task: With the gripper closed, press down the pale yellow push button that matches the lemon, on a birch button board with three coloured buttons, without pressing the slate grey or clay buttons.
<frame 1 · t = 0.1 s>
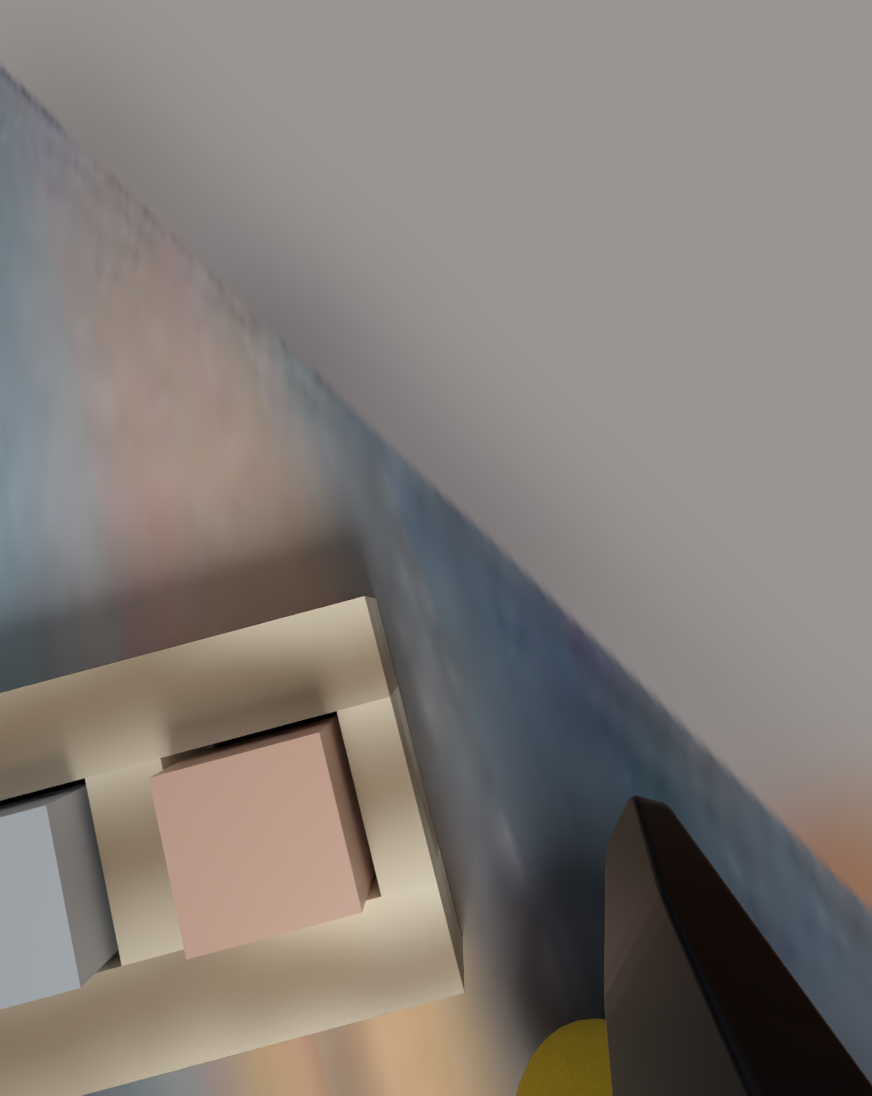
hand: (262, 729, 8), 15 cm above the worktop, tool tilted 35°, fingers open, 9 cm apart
lemon: (583, 1051, 21), on the worktop
grey button: (13, 894, 19), point 3 cm above the worktop, slide at 0.0 cm
clay button: (269, 826, 19), point 3 cm above the worktop, slide at 0.0 cm
button board: (72, 856, 22), on the worktop
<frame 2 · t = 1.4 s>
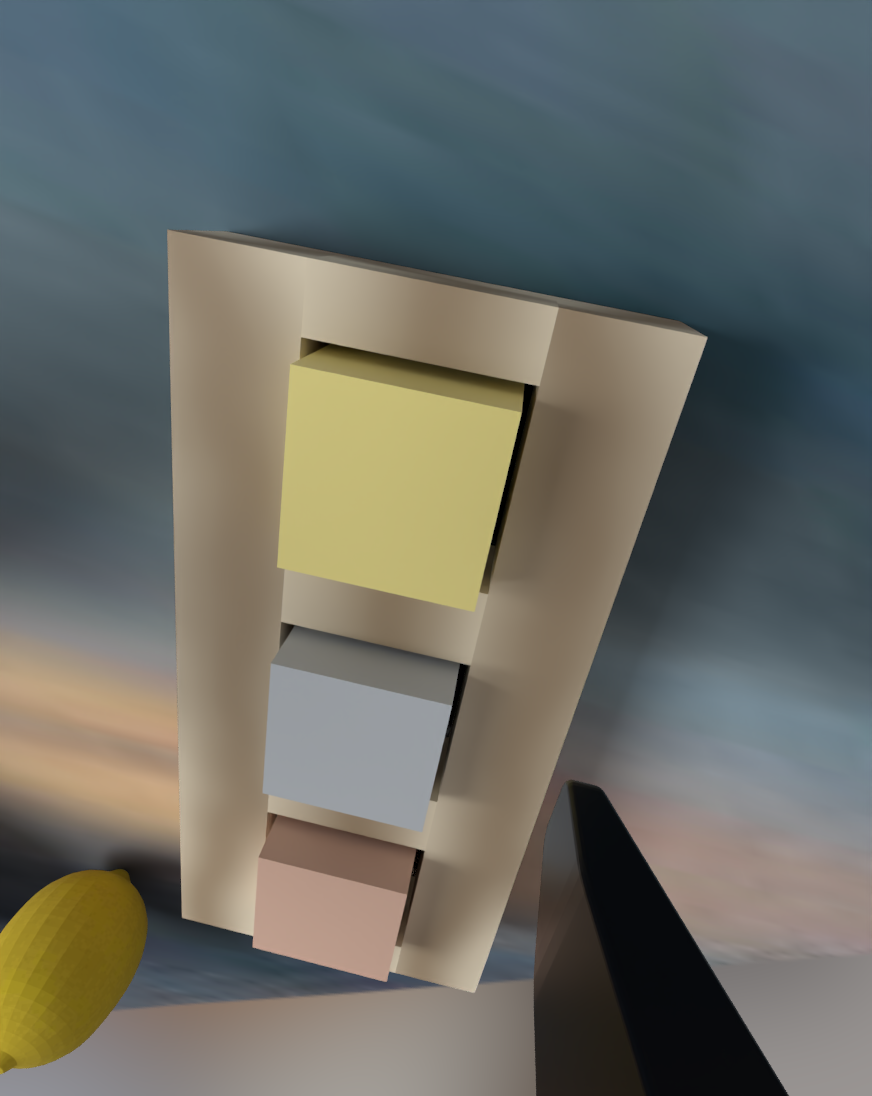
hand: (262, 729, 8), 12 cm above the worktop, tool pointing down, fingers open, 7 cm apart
lemon: (125, 867, 30), on the worktop
yellow button: (401, 475, 16), point 3 cm above the worktop, slide at 0.0 cm
grey button: (363, 717, 19), point 3 cm above the worktop, slide at 0.0 cm
clay button: (337, 882, 23), point 3 cm above the worktop, slide at 0.0 cm
button board: (384, 659, 22), on the worktop
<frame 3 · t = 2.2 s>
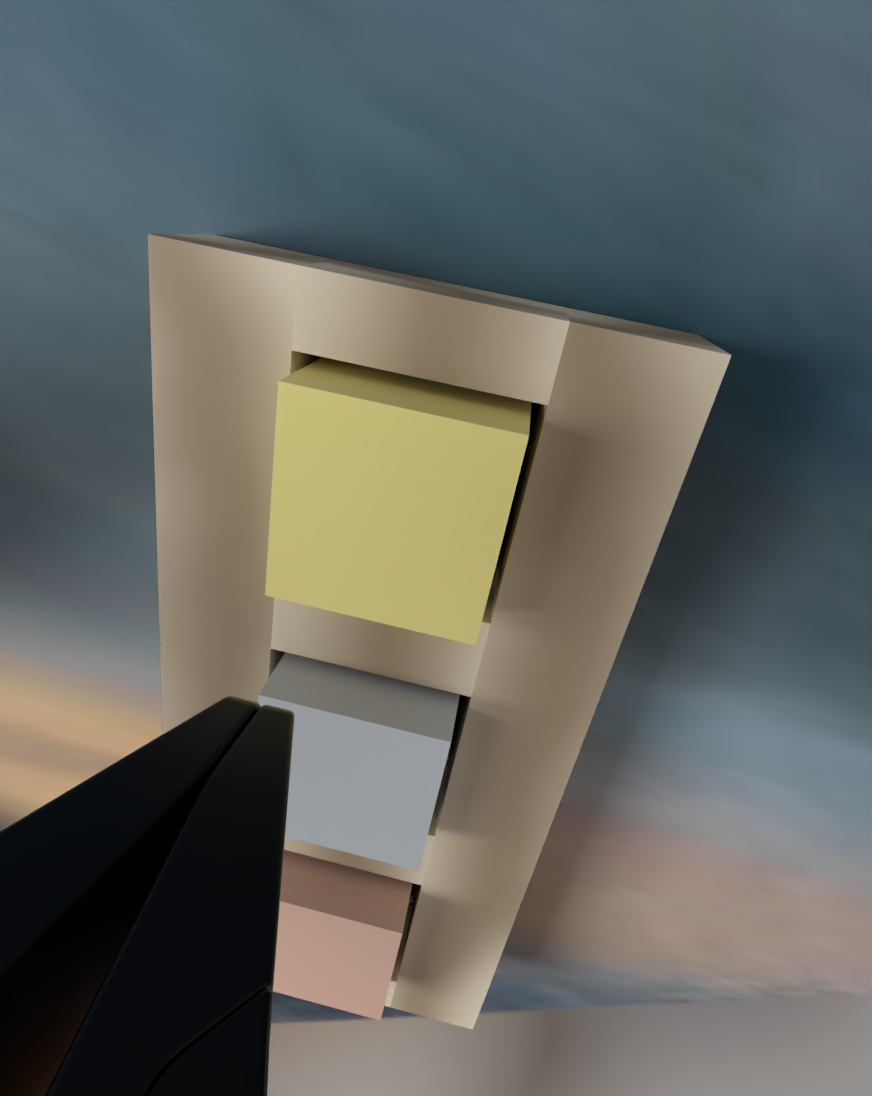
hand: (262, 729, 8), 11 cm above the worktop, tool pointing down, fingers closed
yellow button: (398, 497, 15), point 3 cm above the worktop, slide at 0.0 cm
grey button: (357, 748, 18), point 3 cm above the worktop, slide at 0.0 cm
clay button: (330, 915, 22), point 3 cm above the worktop, slide at 0.0 cm
button board: (381, 683, 21), on the worktop
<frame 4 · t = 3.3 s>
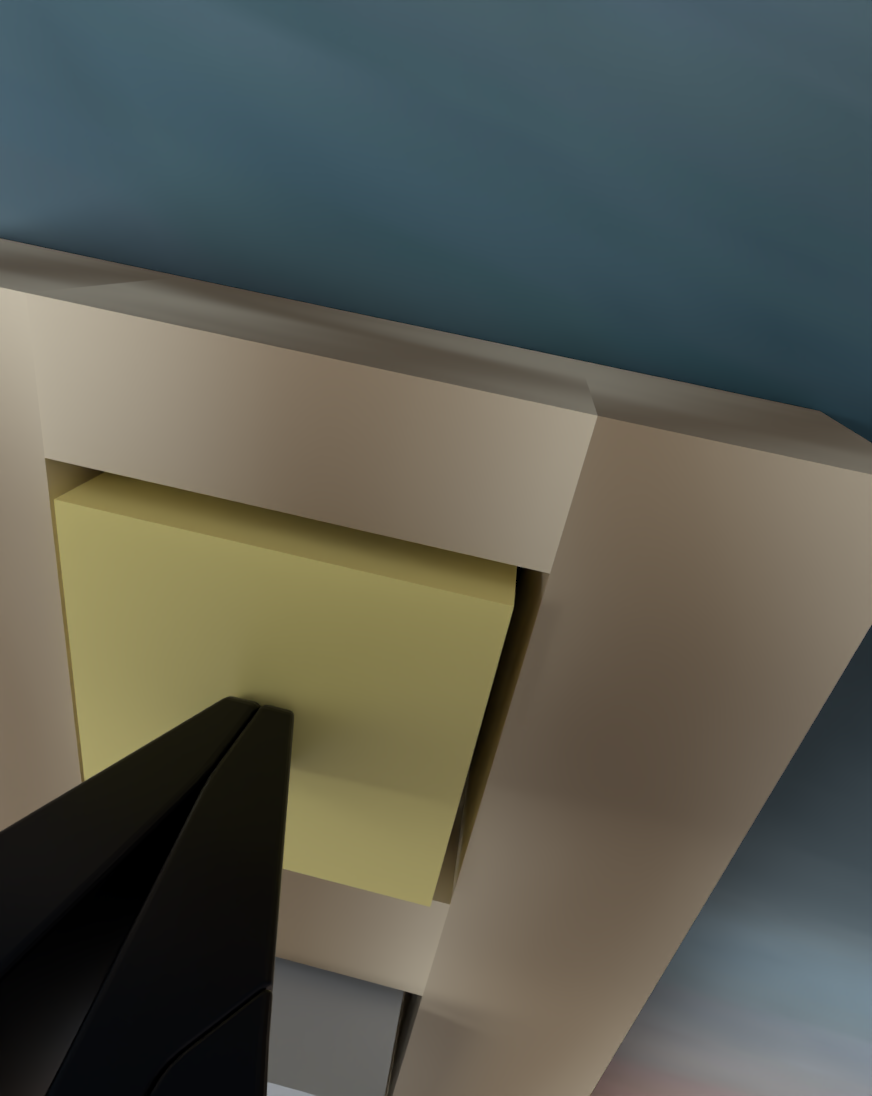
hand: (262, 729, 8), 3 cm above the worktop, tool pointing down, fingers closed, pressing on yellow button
yellow button: (306, 657, 9), point 2 cm above the worktop, slide at 1.2 cm, touching gripper
grey button: (249, 1040, 12), point 3 cm above the worktop, slide at 0.0 cm
button board: (304, 890, 14), on the worktop
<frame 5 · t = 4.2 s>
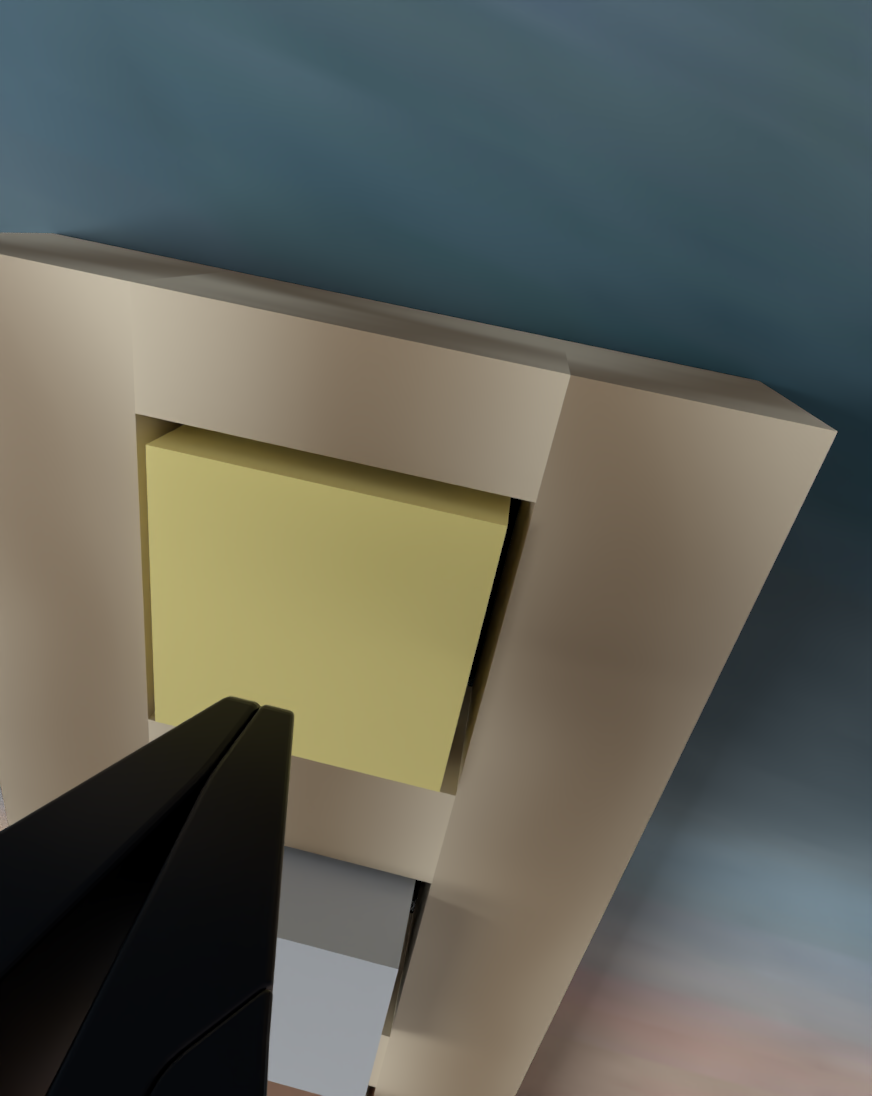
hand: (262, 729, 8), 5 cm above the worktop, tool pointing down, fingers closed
yellow button: (336, 588, 11), point 2 cm above the worktop, slide at 1.2 cm
grey button: (280, 933, 13), point 3 cm above the worktop, slide at 0.0 cm
button board: (323, 818, 16), on the worktop
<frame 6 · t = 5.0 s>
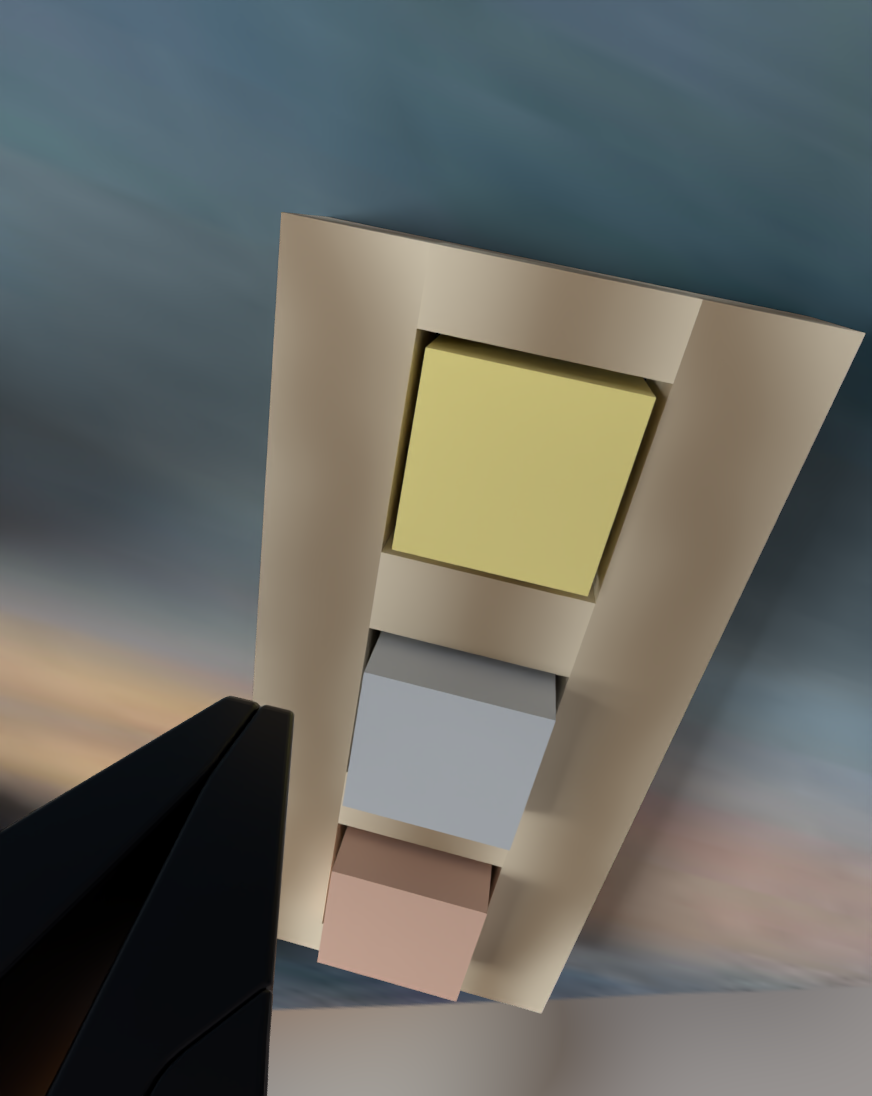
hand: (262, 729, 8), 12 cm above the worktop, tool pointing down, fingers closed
yellow button: (515, 460, 16), point 2 cm above the worktop, slide at 1.2 cm
grey button: (448, 728, 18), point 3 cm above the worktop, slide at 0.0 cm
clay button: (406, 897, 22), point 3 cm above the worktop, slide at 0.0 cm
button board: (461, 667, 21), on the worktop
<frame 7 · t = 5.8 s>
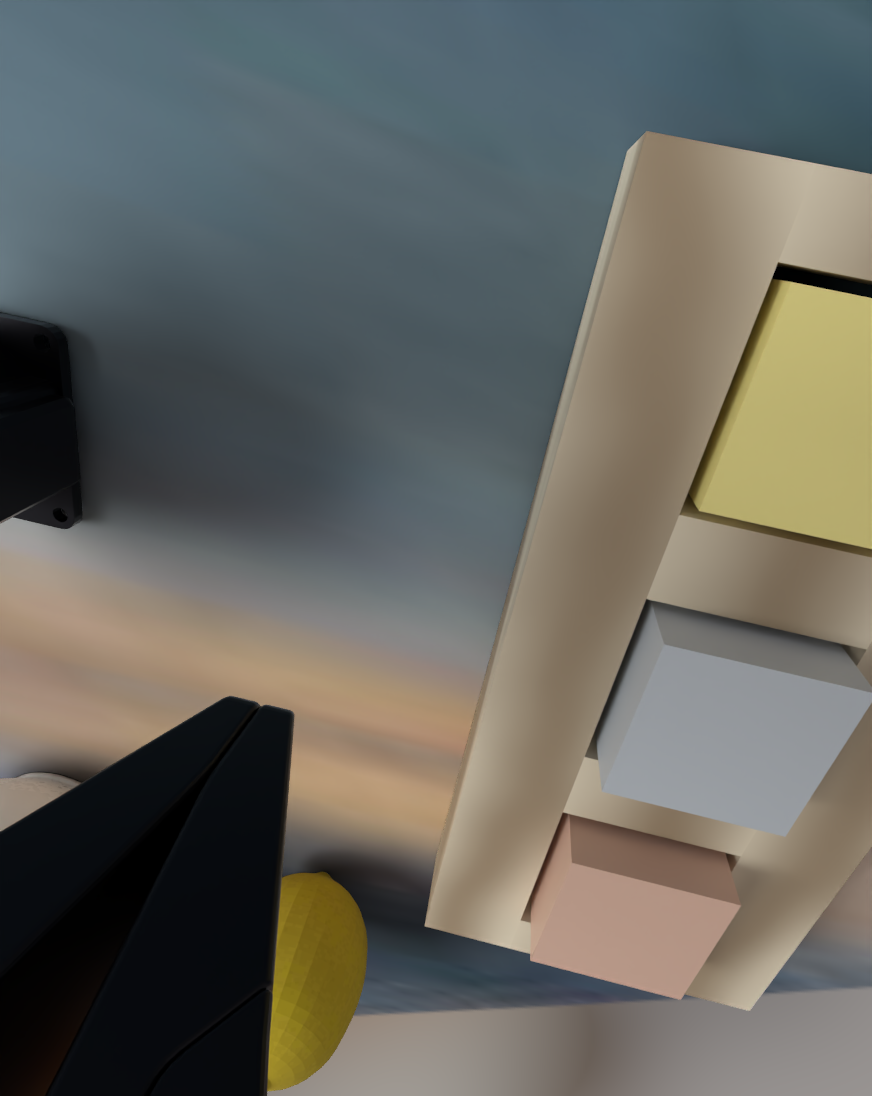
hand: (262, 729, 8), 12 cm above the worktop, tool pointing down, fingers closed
lemon: (325, 870, 28), on the worktop
yellow button: (830, 413, 15), point 2 cm above the worktop, slide at 1.2 cm
grey button: (714, 707, 17), point 3 cm above the worktop, slide at 0.0 cm
lidded jar: (70, 818, 29), on the worktop
clay button: (623, 890, 21), point 3 cm above the worktop, slide at 0.0 cm
button board: (690, 645, 20), on the worktop
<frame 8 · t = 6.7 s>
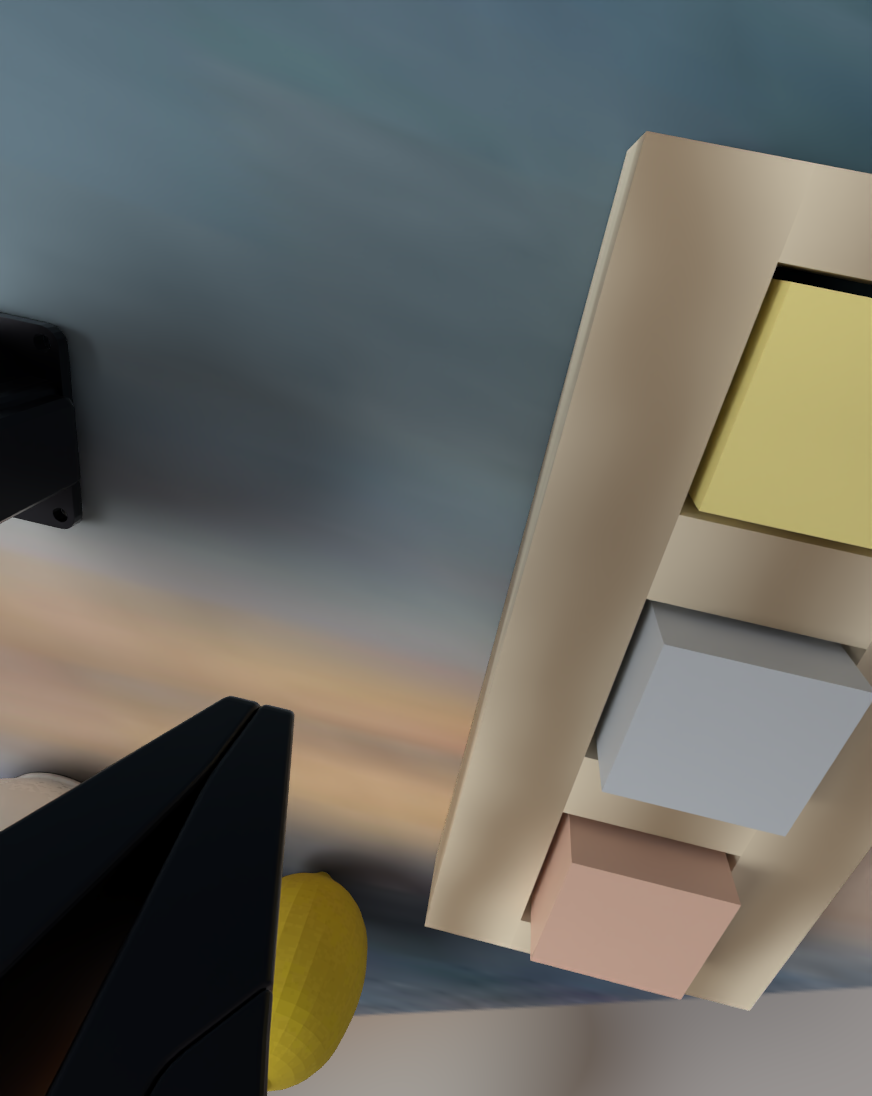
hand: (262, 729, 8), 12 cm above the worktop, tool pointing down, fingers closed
lemon: (325, 870, 28), on the worktop
yellow button: (829, 413, 15), point 2 cm above the worktop, slide at 1.2 cm
grey button: (714, 707, 17), point 3 cm above the worktop, slide at 0.0 cm
lidded jar: (69, 818, 29), on the worktop
clay button: (623, 890, 21), point 3 cm above the worktop, slide at 0.0 cm
button board: (690, 645, 20), on the worktop
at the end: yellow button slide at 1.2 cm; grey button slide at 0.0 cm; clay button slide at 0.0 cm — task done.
